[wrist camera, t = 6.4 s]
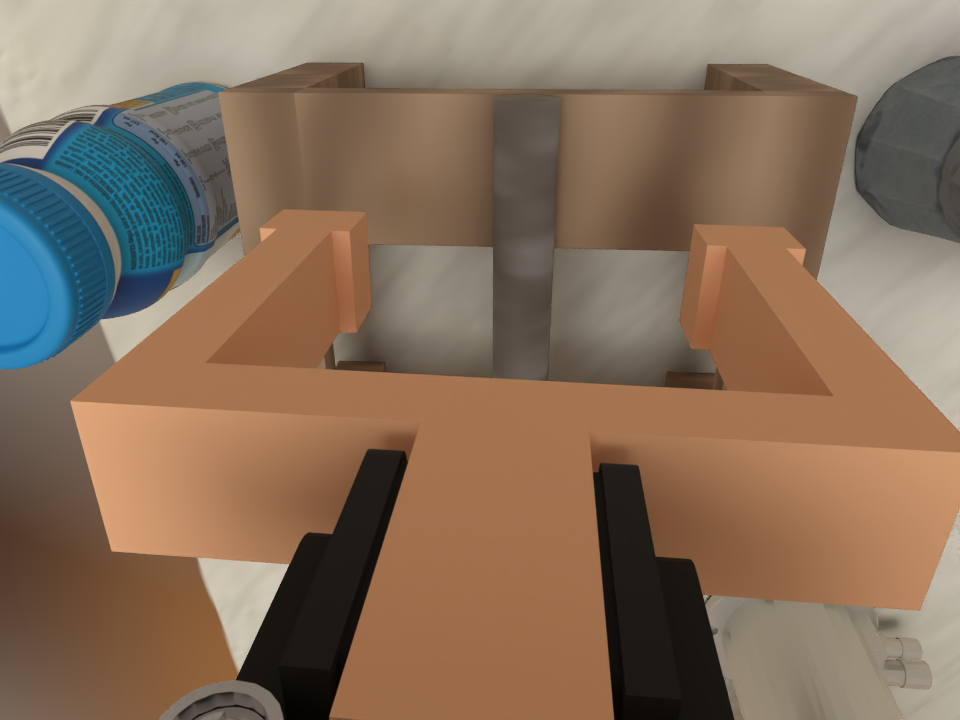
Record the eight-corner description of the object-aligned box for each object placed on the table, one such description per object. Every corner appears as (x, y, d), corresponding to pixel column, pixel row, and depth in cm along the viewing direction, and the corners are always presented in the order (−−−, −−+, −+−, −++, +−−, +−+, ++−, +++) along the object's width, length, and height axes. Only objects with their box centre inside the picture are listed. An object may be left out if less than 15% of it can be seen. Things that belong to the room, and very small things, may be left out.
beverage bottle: (308, 123, 40) (122, 232, 22) (261, 251, 44) (70, 432, 26) (162, 48, 39) (-155, 102, 21) (127, 187, 43) (-168, 331, 25)
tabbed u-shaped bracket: (783, 227, 20) (1380, 811, 6) (764, 324, 22) (1205, 999, 7) (283, 209, 22) (-297, 662, 7) (294, 302, 23) (-174, 850, 8)
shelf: (767, 64, 37) (885, 106, 24) (706, 427, 47) (767, 592, 34) (307, 62, 39) (191, 101, 26) (344, 413, 49) (274, 565, 36)
